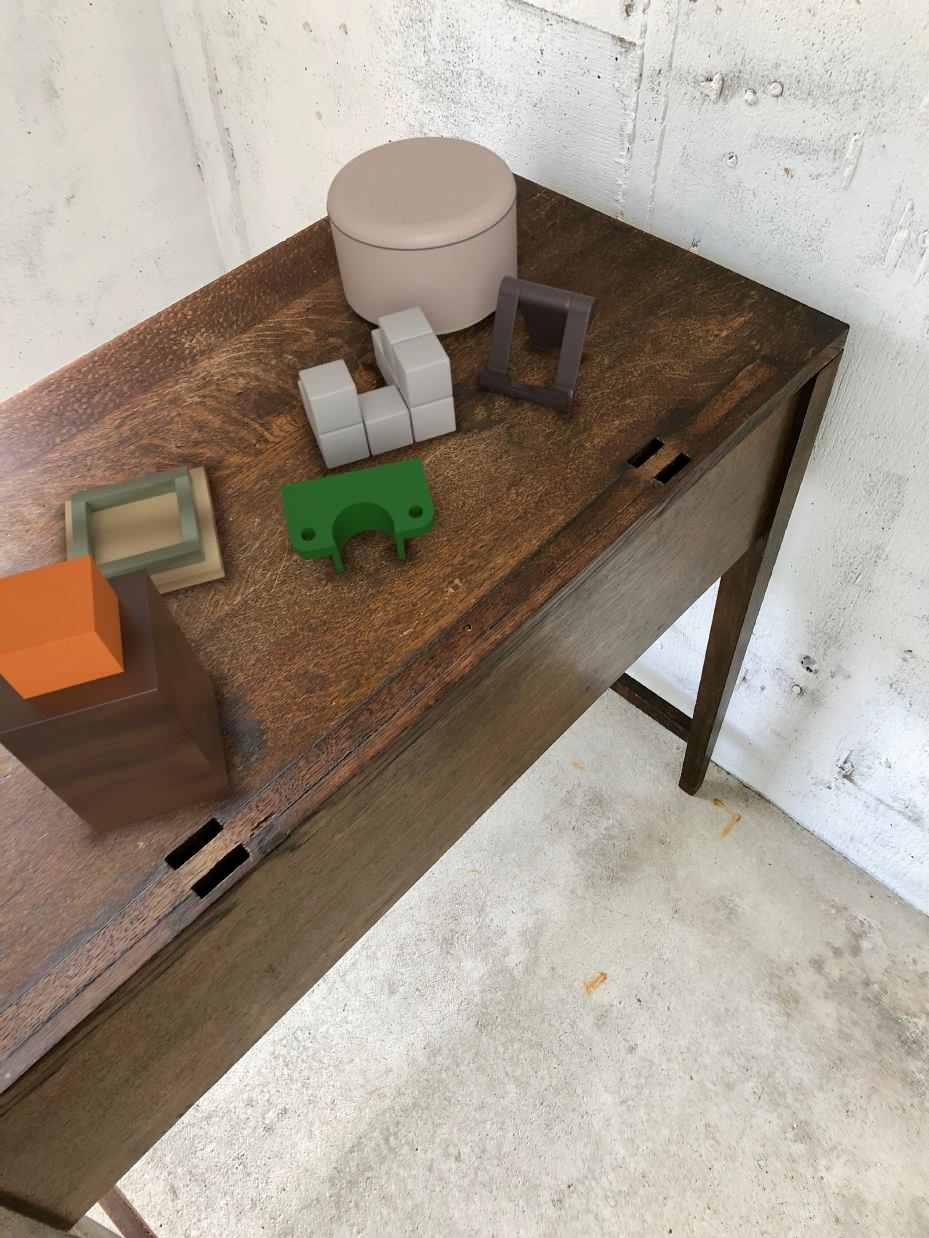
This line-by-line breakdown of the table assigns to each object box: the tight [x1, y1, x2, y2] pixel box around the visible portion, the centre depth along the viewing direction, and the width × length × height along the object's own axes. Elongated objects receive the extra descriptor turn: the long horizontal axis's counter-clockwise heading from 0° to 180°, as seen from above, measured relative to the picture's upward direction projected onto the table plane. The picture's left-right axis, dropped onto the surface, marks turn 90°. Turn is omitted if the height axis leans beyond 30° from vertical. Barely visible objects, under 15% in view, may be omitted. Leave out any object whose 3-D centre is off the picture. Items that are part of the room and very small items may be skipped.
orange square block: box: [0, 555, 124, 699], centre depth 48 cm, size 6×6×4 cm
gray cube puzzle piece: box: [297, 307, 457, 470], centre depth 78 cm, size 12×12×8 cm
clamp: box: [279, 457, 436, 573], centre depth 69 cm, size 12×6×9 cm, turn 97°
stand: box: [0, 569, 231, 834], centre depth 56 cm, size 9×9×14 cm
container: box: [326, 136, 518, 336], centre depth 86 cm, size 18×18×12 cm
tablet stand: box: [478, 276, 599, 413], centre depth 78 cm, size 9×8×8 cm
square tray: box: [64, 465, 226, 595], centre depth 72 cm, size 12×12×3 cm
